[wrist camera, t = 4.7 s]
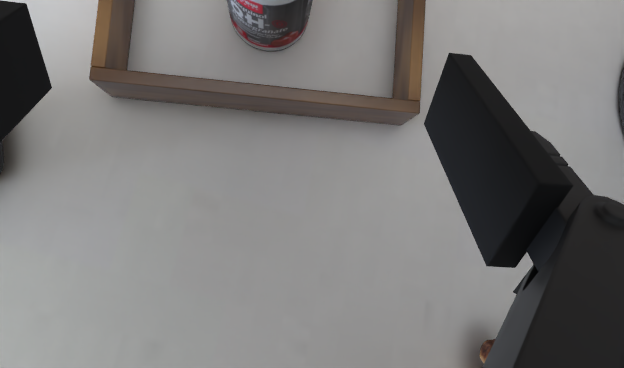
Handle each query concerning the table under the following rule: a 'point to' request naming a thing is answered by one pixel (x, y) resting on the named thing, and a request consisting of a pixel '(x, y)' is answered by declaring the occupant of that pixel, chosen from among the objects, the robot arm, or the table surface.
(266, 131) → the table surface
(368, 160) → the table surface
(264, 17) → the pill bottle
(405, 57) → the wooden frame
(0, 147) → the headphones
